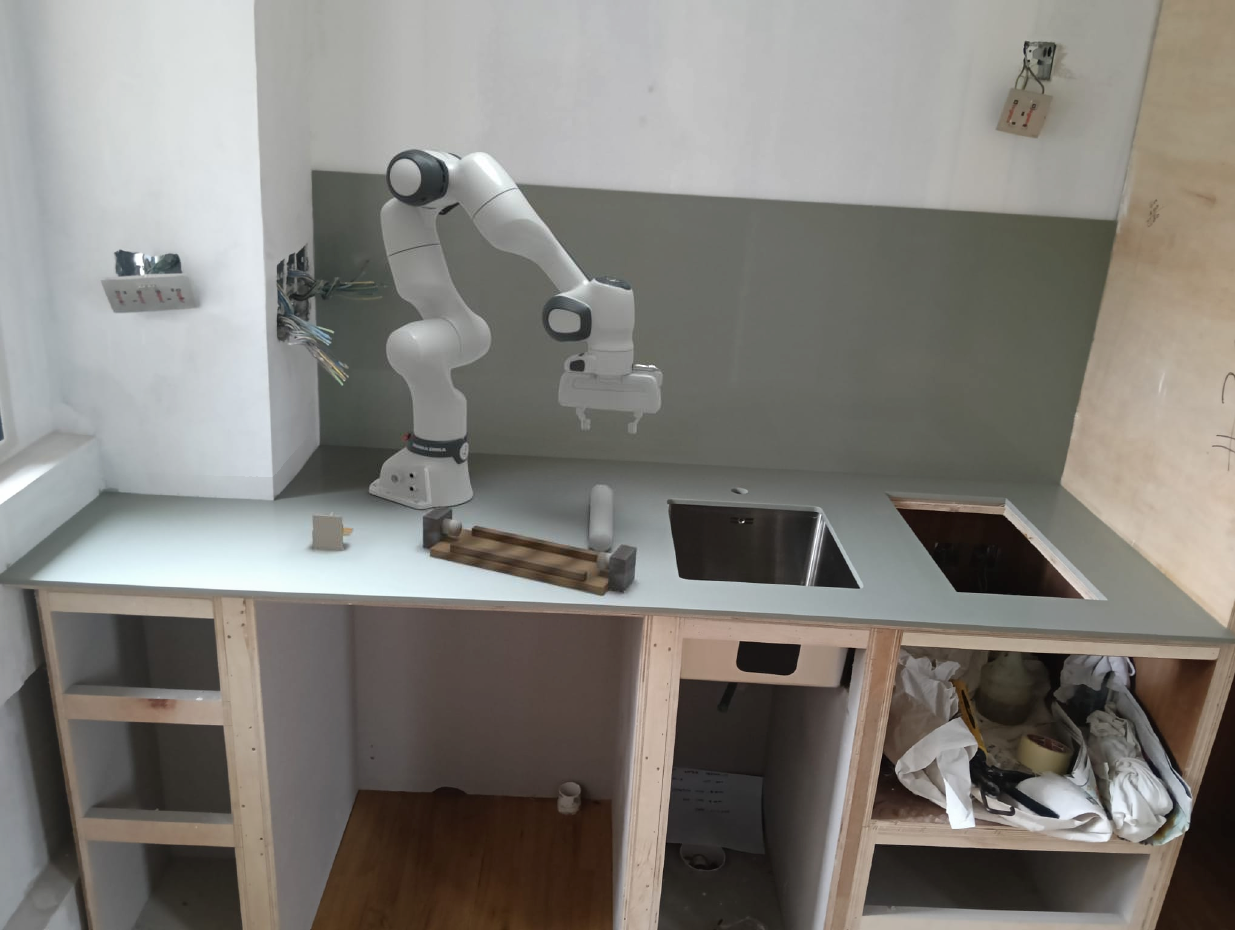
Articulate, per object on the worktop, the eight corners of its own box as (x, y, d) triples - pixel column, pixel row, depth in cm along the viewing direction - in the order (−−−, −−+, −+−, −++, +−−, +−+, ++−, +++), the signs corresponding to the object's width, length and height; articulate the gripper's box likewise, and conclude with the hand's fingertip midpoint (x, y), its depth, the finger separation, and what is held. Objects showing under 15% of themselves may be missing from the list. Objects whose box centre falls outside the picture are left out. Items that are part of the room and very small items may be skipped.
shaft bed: (416, 552, 188) (415, 521, 186) (445, 531, 198) (445, 501, 196) (618, 598, 176) (620, 565, 173) (638, 574, 185) (641, 542, 183)
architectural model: (317, 543, 190) (316, 507, 188) (354, 545, 190) (353, 510, 188) (312, 551, 187) (311, 515, 184) (349, 553, 187) (348, 517, 185)
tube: (618, 538, 191) (617, 489, 215) (592, 528, 190) (594, 480, 214) (608, 561, 193) (608, 510, 216) (582, 551, 192) (585, 501, 216)
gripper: (665, 362, 194) (662, 430, 198) (564, 355, 197) (563, 422, 202) (660, 369, 188) (657, 439, 192) (556, 362, 191) (555, 430, 196)
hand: (608, 430), depth 197 cm, fingers open, 8 cm apart
